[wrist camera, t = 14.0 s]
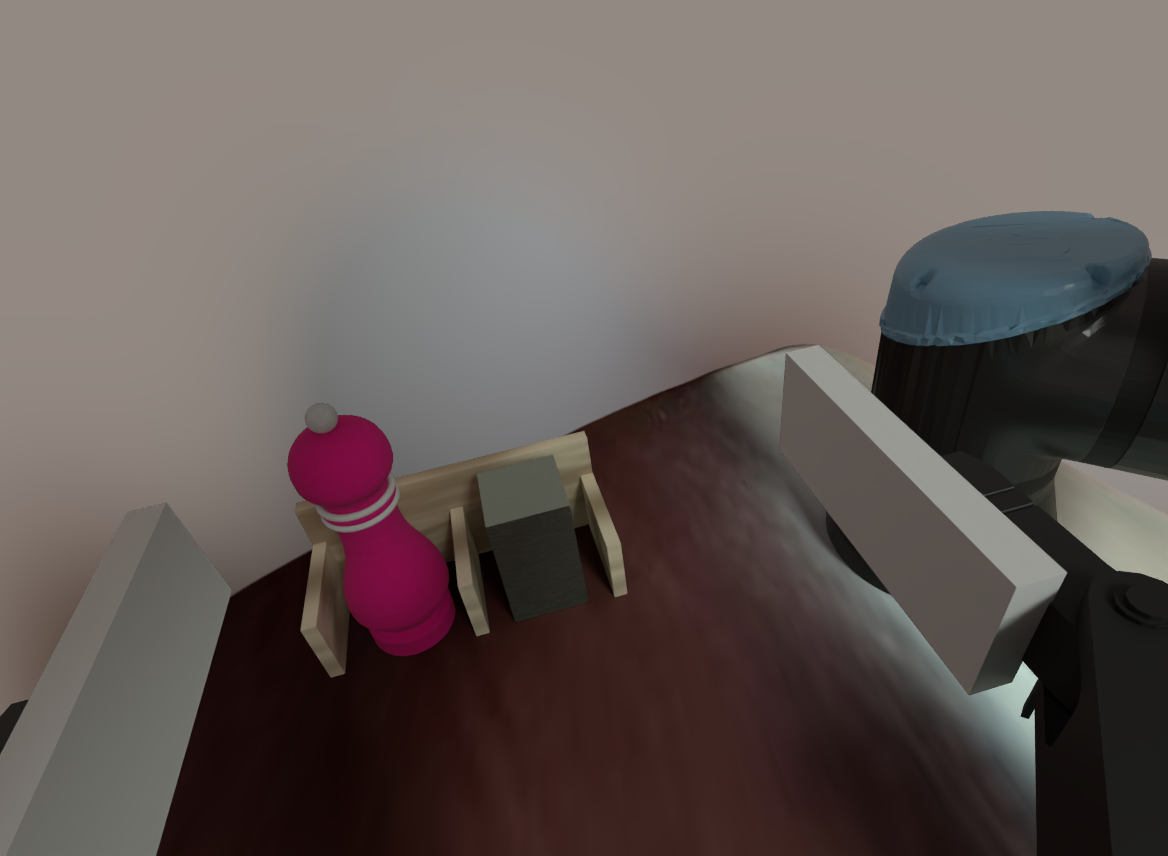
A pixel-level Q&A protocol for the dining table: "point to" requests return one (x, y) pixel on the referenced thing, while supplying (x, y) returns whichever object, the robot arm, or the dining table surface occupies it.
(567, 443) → the spice rack
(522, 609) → the tea tin
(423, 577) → the pepper mill
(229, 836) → the dining table surface
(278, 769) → the dining table surface
